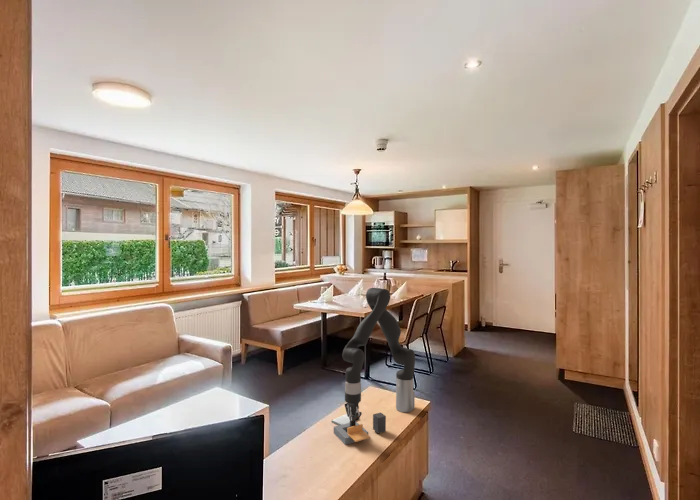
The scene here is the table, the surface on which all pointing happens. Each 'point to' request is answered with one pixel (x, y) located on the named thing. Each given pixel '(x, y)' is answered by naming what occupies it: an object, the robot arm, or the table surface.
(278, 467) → the table surface
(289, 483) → the table surface
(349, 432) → the panel
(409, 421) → the table surface
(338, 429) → the socket
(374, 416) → the plug
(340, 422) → the hard drive
